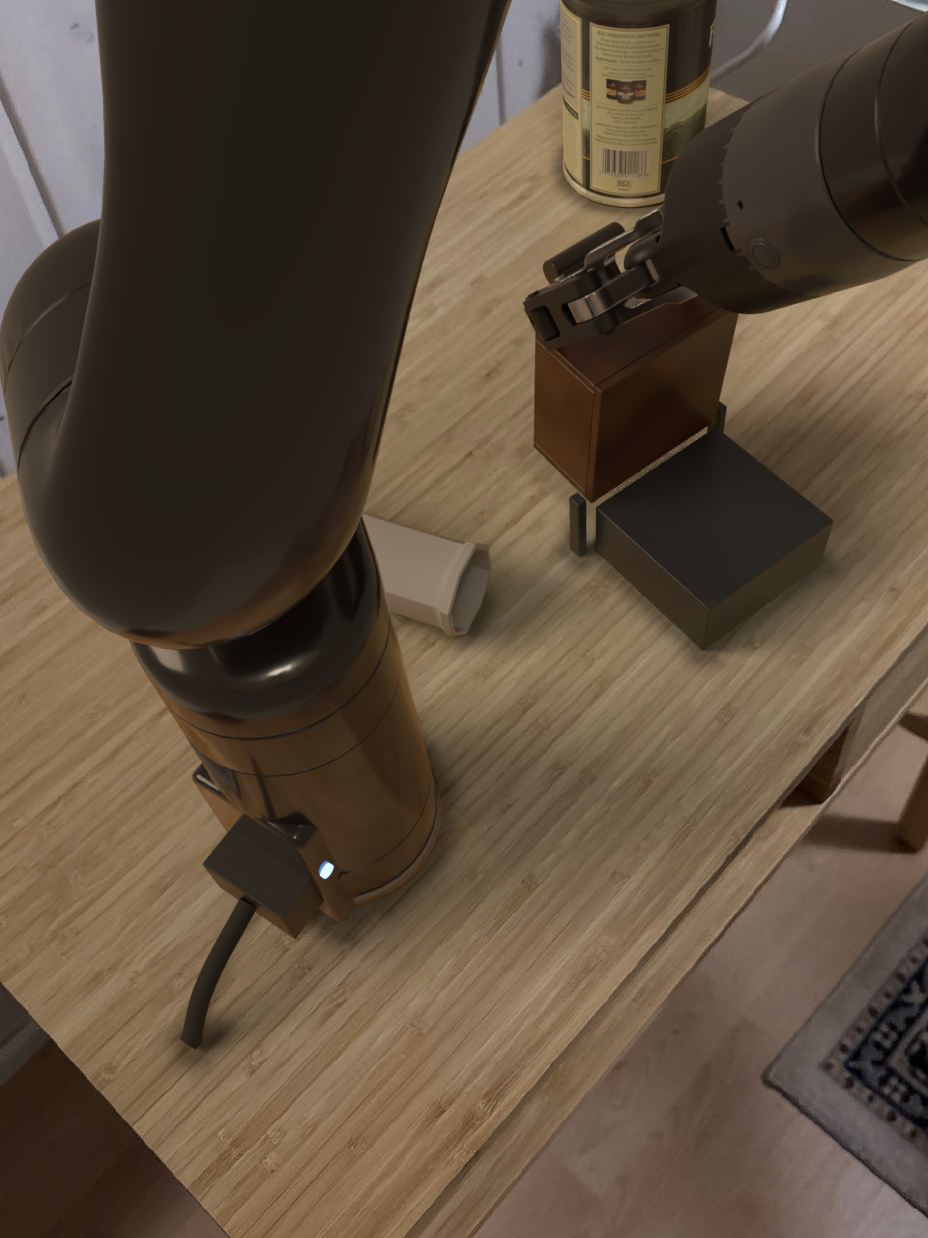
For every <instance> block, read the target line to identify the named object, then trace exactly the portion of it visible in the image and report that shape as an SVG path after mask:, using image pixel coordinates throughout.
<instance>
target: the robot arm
mask: <svg viewBox="0 0 928 1238" xmlns="http://www.w3.org/2000/svg"><path fill="white" fill-rule="evenodd" d="M512 2H513V0H94V8H95V19H96V21H95V22H96V32H97V43H98V44H97V45H98V53H99V54H98V55H99V67H100V80H101V91H102V92H101V93H102V119H103V155H104V157H103V175H102V176H103V178H102V194H101V195H102V196H101V213H100V218H98V219H95V220H92V221H89V222H87V223H84V224H83V225H80V226H78V227H75V228H73V229H71V230H70V231H69V232H67V233H66V234H63V235H62V236H61V237H58V239H56V240H55V241H54V242H52V243H51V244H50V245H49V246H47V247H46V248H45V249H44V250H43V251H42V252H40V254H38V255H37V257H36V258H34V259H33V261H32V262H31V263H30V265H29V266H27V268H26V270H25V271H24V272H23V274H22V275H21V277H20V279H19V280H18V281H17V283H16V285H15V287H14V289H13V291H12V293H11V295H10V297H9V299H8V301H7V304H6V307H5V309H4V312H3V316H2V320H1V324H0V386H1V390H2V396H3V402H4V406H5V412H6V420H7V426H8V432H9V437H10V443H11V444H10V445H11V449H12V455H13V461H14V467H15V473H16V478H17V484H18V490H19V495H20V501H21V506H22V511H23V515H24V519H25V521H26V525H27V527H28V531H29V532H30V535H31V538H32V541H33V543H34V546H35V549H36V551H37V553H38V555H39V557H40V559H41V560H42V562H43V564H44V565H45V567H46V569H47V570H48V572H49V573H50V575H51V577H52V579H53V580H54V581H55V583H56V584H57V585H56V586H58V588H59V589H60V591H62V593H63V594H64V595H65V596H66V597H67V599H68V600H69V601H71V602H72V603H73V605H74V606H75V607H76V608H77V609H78V610H79V611H80V612H81V613H83V614H84V615H85V616H87V617H88V618H90V619H91V620H93V621H94V622H96V623H97V624H98V625H99V626H101V627H102V628H104V629H105V630H106V631H108V632H110V633H112V634H115V635H117V636H119V637H121V638H124V639H126V640H128V641H129V644H130V646H131V649H132V652H133V655H134V656H135V658H136V660H137V662H138V663H139V666H140V667H141V669H142V670H143V672H144V674H145V675H146V677H147V678H148V680H149V682H150V683H151V685H152V687H153V688H154V689H155V691H156V693H157V694H158V695H159V698H160V699H161V700H162V702H163V703H164V705H165V706H166V708H167V710H168V711H169V713H170V714H171V716H172V718H173V719H174V720H175V722H176V724H177V725H178V727H179V729H180V731H181V732H182V733H183V735H184V736H185V739H186V740H187V742H188V743H189V745H190V746H191V748H192V750H193V751H194V752H195V754H196V756H197V758H199V760H200V763H199V765H198V766H197V767H196V769H194V771H193V772H192V774H191V781H192V783H194V785H195V786H196V788H197V789H198V791H199V792H200V795H202V797H203V798H204V800H205V802H206V803H207V804H208V806H209V807H210V809H211V811H212V812H213V814H214V815H215V816H216V818H217V820H218V821H219V822H220V824H221V826H222V827H223V828H224V830H225V831H226V834H225V835H224V836H223V837H222V839H221V840H220V841H219V843H218V844H217V845H215V847H214V849H212V850H211V852H210V854H208V856H207V857H206V858H205V859H204V860H203V862H202V866H203V868H204V869H205V870H206V871H207V873H208V874H209V875H210V876H211V878H212V879H213V881H214V882H215V883H216V885H217V886H218V887H219V888H220V889H222V890H223V891H224V892H226V893H227V894H229V895H230V896H232V897H233V898H234V899H236V900H237V902H236V903H235V904H236V905H235V906H234V907H233V909H232V911H231V913H230V915H229V917H228V919H227V920H226V922H225V924H224V926H223V928H221V929H222V930H221V931H220V933H219V935H218V936H217V938H216V940H215V941H214V944H213V946H212V947H211V948H210V951H209V953H208V955H207V957H206V959H205V961H204V963H203V965H202V967H201V969H200V972H199V973H198V976H197V978H196V981H195V983H194V985H193V988H192V991H191V995H190V998H189V1001H188V1004H187V1008H186V1013H185V1018H184V1022H183V1028H182V1032H181V1035H180V1037H179V1040H180V1041H181V1042H182V1043H184V1044H185V1045H187V1046H188V1047H190V1048H191V1049H193V1050H194V1051H196V1050H197V1049H198V1048H199V1046H200V1043H201V1040H202V1037H203V1033H204V1028H205V1024H206V1019H207V1015H208V1012H209V1011H208V1010H209V1007H210V1003H211V1000H212V997H213V995H214V992H215V990H216V987H217V985H218V983H219V980H220V978H221V976H222V973H224V969H226V966H227V964H228V962H229V960H230V958H231V957H232V955H233V953H234V951H235V949H236V947H237V945H238V944H239V942H240V940H241V939H242V937H243V935H244V933H245V931H246V929H247V927H248V926H249V924H250V922H251V920H252V918H253V917H254V915H255V914H258V915H259V916H261V918H262V919H265V920H266V921H267V922H269V923H271V924H272V925H274V926H275V927H276V928H278V929H279V930H281V931H282V932H284V933H285V934H287V935H288V936H290V937H291V938H292V939H294V940H296V939H298V937H299V936H300V934H301V933H302V931H303V930H304V929H305V927H307V925H308V924H309V923H310V921H311V920H312V918H313V917H314V915H315V914H316V913H317V912H318V911H320V912H321V913H323V914H324V915H326V916H327V917H329V918H331V919H332V920H333V921H335V922H338V923H340V922H343V921H344V920H346V918H347V917H348V915H349V914H350V913H351V911H352V910H353V909H354V908H355V907H356V906H358V905H363V904H367V903H371V902H373V901H377V900H378V899H381V898H383V897H385V896H387V895H389V894H391V893H392V892H394V891H396V890H397V889H399V888H400V887H401V886H403V885H404V884H406V883H407V882H408V881H409V880H410V879H412V877H413V876H414V875H415V874H416V873H417V872H418V871H419V870H420V868H421V867H422V866H423V865H424V863H425V862H426V861H427V859H428V858H429V856H430V854H431V853H432V850H433V848H434V846H435V844H436V842H437V838H438V835H439V832H440V827H441V822H442V799H441V793H440V789H439V785H438V781H437V778H436V776H435V772H434V771H433V769H432V767H431V762H430V758H429V755H428V751H427V748H426V747H427V746H426V743H425V740H424V735H423V732H422V728H421V724H420V720H419V717H418V712H417V708H416V705H415V701H414V697H413V692H412V690H411V685H410V681H409V677H408V674H407V669H406V665H405V661H404V659H403V655H402V650H401V647H400V643H399V642H400V641H399V639H398V635H397V630H396V627H395V623H394V619H393V614H392V612H391V611H390V607H389V603H388V600H387V596H386V592H385V588H384V584H383V580H382V576H381V572H380V568H379V564H378V561H377V558H376V554H375V551H374V548H373V545H372V543H371V540H370V537H369V534H368V531H367V528H366V525H365V522H364V519H363V516H362V513H363V512H364V510H365V507H366V503H367V500H368V497H369V493H370V490H371V485H372V481H373V478H374V474H375V470H376V465H377V463H378V462H377V461H378V457H379V453H380V448H381V442H382V440H383V439H382V438H383V434H384V429H385V424H386V421H387V416H388V412H389V408H390V403H391V398H392V394H393V390H394V387H395V381H396V377H397V372H398V370H399V369H398V368H399V365H400V360H401V356H402V352H403V347H404V343H405V339H406V334H407V329H408V325H409V321H410V318H411V317H410V316H411V312H412V308H413V304H414V301H415V297H416V292H417V288H418V285H419V282H420V281H419V280H420V277H421V274H422V273H421V272H422V269H423V266H424V261H425V258H426V254H427V251H428V247H429V245H430V240H431V238H432V234H433V230H434V226H435V223H436V219H437V216H438V214H439V212H440V211H439V210H440V208H441V204H442V202H443V199H444V196H445V193H446V190H447V188H448V185H449V181H450V180H451V179H450V178H451V176H452V173H453V170H454V167H455V164H456V162H457V159H458V157H459V154H460V151H461V148H462V146H463V143H464V140H465V138H466V135H467V132H468V129H469V126H470V124H471V122H472V119H473V116H474V113H475V110H476V108H477V105H478V103H479V102H478V101H479V100H480V99H479V98H480V96H481V93H482V91H483V87H484V85H485V81H486V78H487V76H488V72H489V70H490V66H491V63H492V60H493V58H494V56H495V55H494V54H495V52H496V49H497V45H498V43H499V40H500V37H501V35H502V31H503V28H504V26H505V24H506V21H507V17H508V14H509V12H510V8H511V4H512ZM629 245H630V246H629ZM627 246H629V248H628V249H627V250H626V253H625V255H624V258H623V268H624V271H622V272H621V270H620V267H619V265H618V263H617V261H616V254H617V253H616V251H618V250H620V249H622V248H624V247H625V248H627ZM625 248H624V249H625ZM622 250H623V249H622ZM620 251H621V250H620ZM927 259H928V10H926V11H924V12H922V13H920V14H918V15H917V16H915V17H913V18H911V19H910V20H908V21H906V22H904V23H903V24H900V25H899V26H897V27H896V28H894V29H892V30H891V31H888V32H887V33H885V34H883V35H882V36H880V37H878V38H877V39H874V40H873V41H871V42H869V43H867V44H866V45H865V46H862V47H860V48H857V49H855V50H852V51H850V52H846V53H843V54H840V55H837V56H834V57H831V58H829V59H827V60H825V61H822V62H820V63H818V64H816V65H814V66H812V67H810V68H808V69H806V70H804V71H803V72H801V73H799V74H797V75H796V76H794V77H792V78H791V79H789V80H786V81H785V82H783V83H781V84H780V85H778V86H777V87H775V88H773V89H771V90H770V91H768V92H766V93H765V94H763V95H761V96H760V97H758V98H755V99H754V100H752V101H751V102H749V103H747V104H745V105H744V106H742V107H740V108H737V110H735V111H733V112H732V113H730V114H727V115H726V116H724V117H723V118H721V119H720V120H719V119H718V121H716V122H714V123H712V124H711V125H709V126H707V127H705V129H704V130H703V131H701V132H700V133H699V134H697V135H696V136H695V137H694V138H693V139H692V140H691V141H690V142H689V143H688V144H687V145H686V146H685V147H684V149H683V150H682V151H681V153H680V154H679V156H678V158H677V159H676V161H675V163H674V165H673V167H672V170H671V172H670V175H669V178H668V181H667V185H666V189H665V196H664V201H663V204H661V205H659V206H657V207H655V208H654V209H652V210H649V212H647V213H646V214H644V215H642V216H641V217H639V218H638V219H637V220H636V222H635V224H634V226H633V227H631V228H629V229H626V230H625V232H623V233H622V234H620V235H618V236H616V237H614V238H612V239H610V240H608V241H607V242H605V243H603V244H601V245H599V246H598V247H596V248H595V249H593V250H592V251H590V252H589V253H588V254H587V255H586V256H585V259H584V267H582V268H580V269H579V270H577V271H575V272H573V273H571V274H569V275H567V276H565V277H564V274H563V275H561V276H559V277H557V278H555V279H554V281H555V282H554V283H553V284H549V285H547V286H545V287H542V288H540V289H537V290H535V291H533V292H531V293H529V294H528V295H527V296H526V297H525V300H524V301H522V305H523V307H524V308H523V311H524V313H525V314H526V316H527V319H528V320H529V322H530V325H531V327H532V329H533V330H534V333H535V332H536V334H537V336H539V335H540V336H541V338H542V340H543V341H544V342H543V344H544V346H545V348H546V350H547V352H550V351H553V350H556V351H558V350H560V349H562V348H564V347H566V346H569V345H572V344H575V343H579V342H582V341H585V340H588V339H591V338H594V337H598V336H600V335H602V334H604V335H605V336H607V335H609V334H611V333H613V332H614V331H616V327H617V326H619V325H620V324H625V323H627V322H629V321H631V320H633V319H635V318H638V317H640V316H642V315H644V314H646V313H648V312H650V311H652V310H655V309H657V308H659V307H661V306H663V305H665V304H667V303H672V304H681V303H683V302H685V301H688V300H690V299H692V298H694V297H696V296H698V295H699V296H701V297H702V298H704V299H705V300H707V301H708V302H710V303H712V304H713V305H715V306H717V307H719V308H721V309H724V310H727V311H730V312H733V313H739V315H760V314H761V315H762V314H766V313H769V312H774V311H776V310H780V309H784V308H786V307H791V306H795V305H798V304H802V303H806V302H808V301H812V300H815V299H819V298H821V297H826V296H829V295H833V294H835V293H839V292H843V291H845V290H850V289H852V288H856V287H861V286H863V285H866V284H870V283H874V282H877V281H880V280H884V279H886V278H889V277H890V276H893V275H895V274H897V273H899V272H901V271H904V270H906V269H908V268H909V267H912V266H914V265H915V264H917V263H920V262H921V261H925V260H927ZM635 293H637V294H638V295H639V296H640V297H642V298H643V299H638V298H635V297H634V296H633V294H635Z"/></svg>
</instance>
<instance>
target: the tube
mask: <svg viewBox="0 0 928 1238" xmlns="http://www.w3.org/2000/svg"><path fill="white" fill-rule="evenodd" d="M362 516H363V519H364V522H365V525H366V528H367V531H368V534H369V537H370V540H371V543H372V545H373V548H374V551H375V554H376V558H377V561H378V564H379V568H380V572H381V576H382V580H383V584H384V588H385V592H386V596H387V600H388V603H389V607H390V611H391V613H394V614H396V615H400V616H402V617H406V618H409V619H412V620H415V621H418V622H421V623H424V624H427V625H431V626H433V627H436V628H439V629H441V630H442V631H443V634H444V635H446V636H449V637H460V636H466V635H467V634H468V632H469V630H470V628H471V626H472V624H473V622H474V620H475V618H476V616H477V614H478V612H479V610H480V609H481V606H482V604H483V602H484V598H485V594H486V590H487V587H488V583H489V581H490V580H489V579H490V576H491V573H492V563H491V562H492V561H491V555H490V547H489V545H488V544H486V543H481V542H476V541H475V542H474V541H466V542H463V541H460V540H457V539H454V538H450V537H447V536H443V535H439V534H437V533H435V532H432V531H431V532H430V531H427V530H424V529H421V528H418V527H414V526H411V525H407V524H404V523H401V522H397V521H395V520H391V519H388V518H384V517H381V516H379V515H378V516H377V515H374V514H371V513H368V512H364V511H363V513H362Z"/></svg>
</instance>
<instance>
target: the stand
mask: <svg viewBox="0 0 928 1238" xmlns="http://www.w3.org/2000/svg"><path fill="white" fill-rule="evenodd" d="M727 410H728V406H727V405H726V404H724V403H723V402H722V401H721V400H719V404H718V408H717V413H716V417H715V421H714V422H713V423H712V424H710V425H709V426H707V427H706V433H704V434H703V435H701V436H700V437H698V438H696V439H695V440H694V441H692V442H691V443H689V444H687V445H686V446H685V447H683V448H682V449H680V450H678V451H677V452H675V453H674V454H673V455H672V456H670V457H668V458H667V459H666V460H664V461H662V462H661V463H659V464H657V466H654V467H653V468H652V469H650V470H649V471H648V472H646V473H645V474H643V475H641V476H640V477H639V478H636V479H635V480H634V481H632V482H631V483H630V484H628V485H626V486H625V487H623V488H622V489H620V490H619V491H618V492H616V493H614V494H613V495H611V496H610V497H609V498H606V499H605V500H604V501H603V502H601V503H599V504H598V505H597V506H595V533H594V535H595V538H594V539H595V540H594V542H595V543H594V544H595V545H594V546H595V548H594V549H595V551H596V552H597V553H598V554H599V555H600V556H601V557H602V558H603V559H604V560H605V561H606V562H608V563H609V564H610V565H611V567H613V569H615V570H616V571H617V572H618V573H619V574H620V575H621V576H622V577H623V578H624V579H626V580H627V581H628V582H629V583H630V584H631V585H632V586H633V587H634V588H635V589H636V590H638V591H639V593H640V594H642V595H643V596H644V597H645V598H646V599H647V600H648V602H651V604H653V606H655V607H656V609H658V610H659V611H660V612H661V613H662V614H663V615H664V616H665V617H666V618H667V619H668V620H669V621H670V622H672V623H673V625H675V626H676V627H677V628H678V629H679V630H680V631H681V632H682V633H683V634H684V635H685V636H686V637H688V638H689V640H691V641H692V643H694V644H695V645H696V646H697V647H698V648H700V650H701V651H705V650H706V649H708V648H709V647H711V646H712V645H714V644H715V643H716V642H717V641H719V640H720V639H721V638H723V637H724V636H725V635H727V634H728V633H730V631H732V630H734V629H735V628H736V627H738V626H739V625H740V624H742V623H743V622H744V621H747V619H748V618H750V617H751V616H753V615H754V614H755V613H757V612H758V611H759V610H761V609H762V608H764V606H767V604H770V602H771V601H773V600H774V599H775V598H777V597H779V595H781V594H783V593H784V592H785V591H786V590H788V589H790V588H791V587H792V586H794V585H795V584H797V582H799V581H801V580H802V579H803V578H804V577H805V576H807V575H808V574H809V573H811V572H813V570H815V569H816V568H818V567H819V566H820V565H821V564H822V562H823V559H824V555H825V552H826V549H827V545H828V541H829V538H830V535H831V531H832V528H833V524H834V519H833V518H831V517H830V516H829V515H828V514H826V513H825V512H824V511H823V510H821V509H820V508H819V507H817V505H816V504H814V503H812V502H811V501H810V500H809V499H808V498H807V497H805V496H804V495H802V494H801V493H800V492H799V491H797V489H795V488H794V487H792V486H791V485H790V484H789V483H787V482H786V481H785V480H783V478H781V477H780V476H779V475H777V474H776V473H775V472H774V471H772V469H770V468H768V467H767V466H766V465H765V464H764V463H762V462H761V461H760V460H758V459H757V458H756V457H755V456H753V455H752V454H751V453H749V451H747V450H746V449H745V448H743V447H742V446H741V445H739V444H738V443H737V442H736V441H735V440H733V438H731V437H730V436H729V435H727V434H726V433H724V432H725V426H726V425H725V424H726V418H727ZM568 507H569V508H568V509H569V511H568V512H569V548H570V550H571V551H572V552H573V553H574V554H575V555H576V556H577V557H580V556H583V554H585V553H586V552H587V550H588V549H587V548H588V547H587V545H588V543H587V541H588V540H587V499H586V498H585V497H584V496H583V495H582V494H581V493H580V492H579V491H577V492H575V493H573V494H572V495H571V496H569V498H568Z"/></svg>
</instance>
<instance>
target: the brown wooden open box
mask: <svg viewBox="0 0 928 1238" xmlns="http://www.w3.org/2000/svg"><path fill="white" fill-rule="evenodd" d="M625 231H626V230H625V228H624V227H623V225H622V224H621V223H619V222H617V221H612V222H610V223H608V224H605V226H603V227H601V228H600V229H598V230H596V231H594V232H593V233H591V234H589V235H588V236H586V237H584V238H583V239H581V240H579V241H577V242H576V243H574V244H572V245H570V246H569V247H566V248H565V249H564V250H562V251H560V252H559V253H557V254H555V255H554V256H552V257H549V258H548V259H546V260H544V262H543V263H542V272H543V275H544V277H545V279H546V281H547V282H548V283H549V285H551V284H553V283H554V282H555V281H554V279H555V278H557V277H559V276H561V275H563V274H564V277H565V276H567V275H569V274H571V273H573V272H575V271H577V270H579V269H580V268H582V267H584V259H585V256H586V255H587V254H588V253H589V252H590V251H592V250H593V249H595V248H596V247H598V246H599V245H601V244H603V243H605V242H607V241H608V240H610V239H612V238H614V237H616V236H618V235H620V234H622V233H623V232H625ZM624 249H626V247H624V248H622V249H620V250H618V251H616V254H617V253H618V252H620V251H623V250H624ZM633 296H634V297H635V298H638V299H643V298H642V297H640V296H639V295H638V294H637V293H635V294H633ZM739 315H740V314H739V313H733V312H730V311H727V310H724V309H721V308H719V307H717V306H715V305H713V304H712V303H710V302H708V301H707V300H705V299H704V298H702V297H701V296H699V295H698V296H696V297H694V298H692V299H690V300H688V301H685V302H683V303H681V304H672V303H667V304H665V305H663V306H661V307H659V308H657V309H655V310H652V311H650V312H648V313H646V314H644V315H642V316H640V317H638V318H635V319H633V320H631V321H629V322H627V323H625V324H620V325H619V326H617V327H616V331H614V332H613V333H611V334H609V335H607V336H605V335H604V334H602V335H600V336H598V337H594V338H591V339H588V340H585V341H582V342H579V343H575V344H572V345H569V346H566V347H564V348H562V349H560V350H558V351H556V350H553V351H550V352H547V350H546V348H545V346H544V344H543V342H544V341H543V340H542V338H541V336H540V335H539V336H537V334H536V332H535V331H534V338H535V339H534V382H533V383H534V386H533V387H534V388H533V389H534V390H533V392H534V393H533V448H534V449H535V450H536V451H537V452H538V453H539V454H540V455H541V456H542V457H543V458H544V459H545V460H546V461H547V462H548V463H549V464H550V465H551V466H552V467H553V468H554V469H555V470H556V471H557V472H558V473H559V474H560V475H561V476H562V477H564V479H565V480H566V481H568V483H569V484H571V485H572V487H574V489H576V490H577V492H578V493H579V494H580V495H581V496H582V497H583V498H584V499H585V500H586V501H587V502H589V503H590V504H591V505H592V504H594V503H595V502H596V501H598V500H599V499H601V498H603V497H604V496H605V495H607V494H609V493H610V492H611V491H613V490H615V489H616V488H617V487H619V486H620V485H622V484H623V483H625V482H627V481H628V480H630V479H631V478H632V477H634V476H636V475H637V474H638V473H640V472H641V471H643V470H644V469H646V468H647V467H649V466H651V465H652V464H654V463H655V462H656V461H658V460H660V459H661V458H662V457H663V456H664V457H665V455H667V454H669V453H670V452H672V451H673V450H674V449H676V448H677V447H679V446H680V445H681V444H683V443H684V442H686V441H687V440H689V439H691V438H692V437H694V436H695V435H697V434H699V432H701V431H703V430H704V429H707V426H709V425H710V424H712V423H713V422H714V421H715V417H716V413H717V408H718V404H719V401H720V399H721V394H722V391H723V386H724V381H725V377H726V372H727V367H728V363H729V360H730V355H731V351H732V347H733V346H732V345H733V341H734V337H735V332H736V329H737V324H738V320H739Z"/></svg>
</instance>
